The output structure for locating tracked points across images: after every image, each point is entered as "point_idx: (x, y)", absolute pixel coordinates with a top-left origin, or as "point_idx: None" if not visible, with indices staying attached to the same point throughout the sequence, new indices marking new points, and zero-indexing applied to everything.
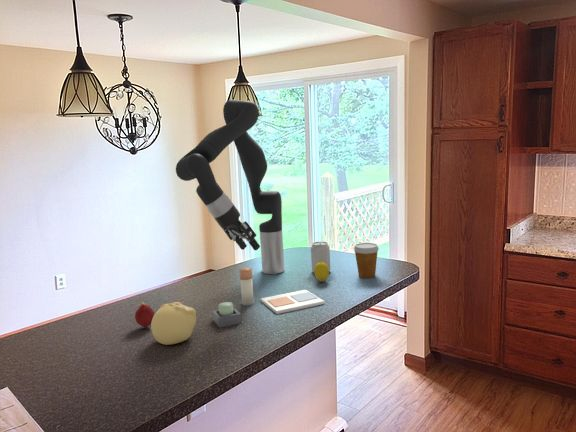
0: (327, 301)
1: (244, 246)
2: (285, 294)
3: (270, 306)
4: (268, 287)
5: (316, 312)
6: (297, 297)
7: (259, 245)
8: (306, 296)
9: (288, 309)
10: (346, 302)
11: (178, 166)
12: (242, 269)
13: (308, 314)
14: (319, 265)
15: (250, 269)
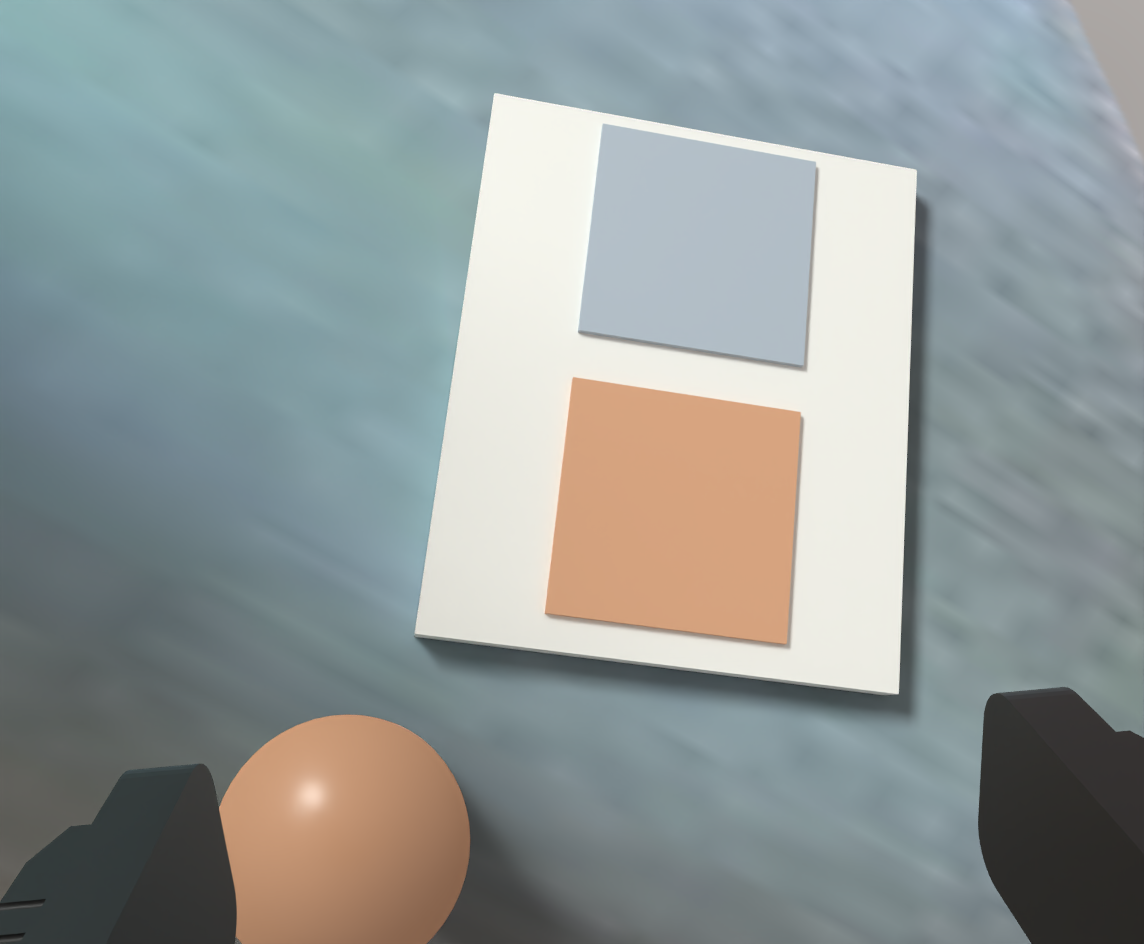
0: (862, 125)
1: (210, 861)
2: (489, 340)
3: (728, 673)
4: (15, 312)
5: (1051, 366)
6: (682, 306)
7: (1079, 700)
8: (714, 221)
9: (898, 555)
10: (981, 28)
11: None
12: (315, 905)
13: (1056, 451)
14: None
15: (435, 772)
